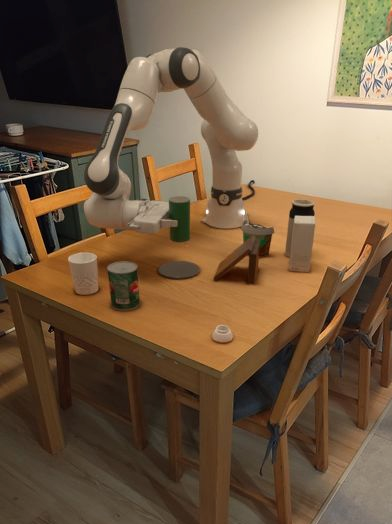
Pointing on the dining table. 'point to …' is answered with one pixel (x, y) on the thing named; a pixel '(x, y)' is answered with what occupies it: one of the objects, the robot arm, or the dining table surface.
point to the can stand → (237, 255)
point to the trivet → (179, 270)
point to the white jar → (222, 334)
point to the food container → (258, 236)
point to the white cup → (84, 272)
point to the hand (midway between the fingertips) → (181, 219)
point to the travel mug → (298, 209)
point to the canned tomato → (123, 285)
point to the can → (180, 218)
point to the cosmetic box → (302, 243)
